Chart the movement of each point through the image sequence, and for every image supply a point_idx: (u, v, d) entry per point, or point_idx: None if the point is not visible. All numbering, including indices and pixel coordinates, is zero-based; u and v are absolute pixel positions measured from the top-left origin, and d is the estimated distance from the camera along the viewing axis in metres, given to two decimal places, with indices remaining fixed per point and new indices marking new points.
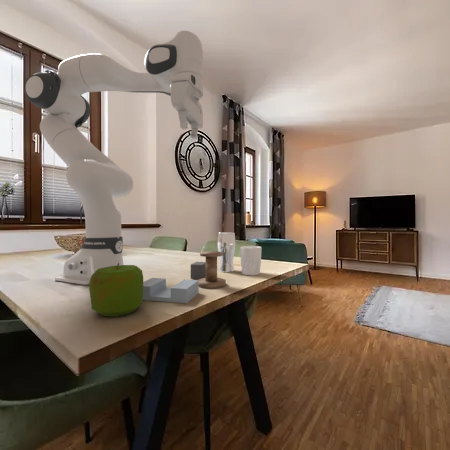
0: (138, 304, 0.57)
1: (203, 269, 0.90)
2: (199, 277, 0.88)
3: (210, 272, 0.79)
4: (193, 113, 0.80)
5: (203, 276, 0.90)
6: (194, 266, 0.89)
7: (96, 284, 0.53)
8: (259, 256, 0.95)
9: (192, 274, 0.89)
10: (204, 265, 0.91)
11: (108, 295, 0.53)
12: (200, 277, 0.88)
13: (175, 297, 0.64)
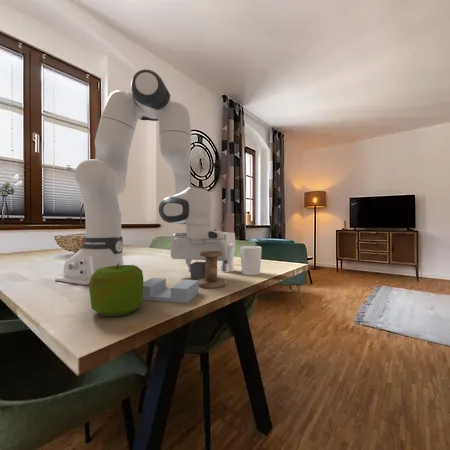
0: (138, 304, 0.57)
1: (203, 269, 0.90)
2: (199, 277, 0.88)
3: (210, 272, 0.79)
4: None
5: (203, 276, 0.90)
6: (194, 266, 0.89)
7: (96, 284, 0.53)
8: (259, 256, 0.95)
9: (192, 274, 0.89)
10: (204, 265, 0.91)
11: (108, 295, 0.53)
12: (200, 277, 0.88)
13: (175, 297, 0.64)
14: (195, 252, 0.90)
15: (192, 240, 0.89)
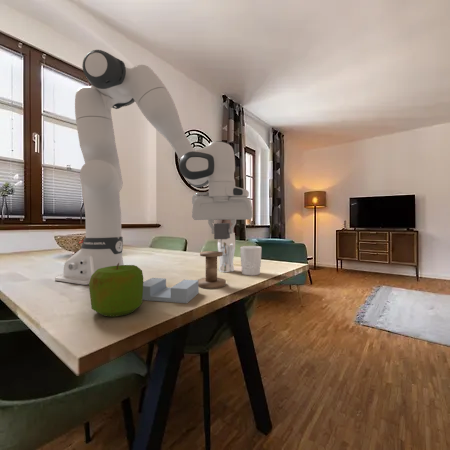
0: (138, 304, 0.57)
1: (227, 229, 0.85)
2: (223, 237, 0.84)
3: (210, 272, 0.79)
4: None
5: (227, 236, 0.86)
6: (218, 225, 0.84)
7: (96, 284, 0.53)
8: (259, 256, 0.95)
9: (216, 234, 0.84)
10: (228, 225, 0.87)
11: (108, 295, 0.53)
12: (224, 237, 0.84)
13: (175, 297, 0.64)
14: (218, 212, 0.85)
15: (215, 198, 0.84)
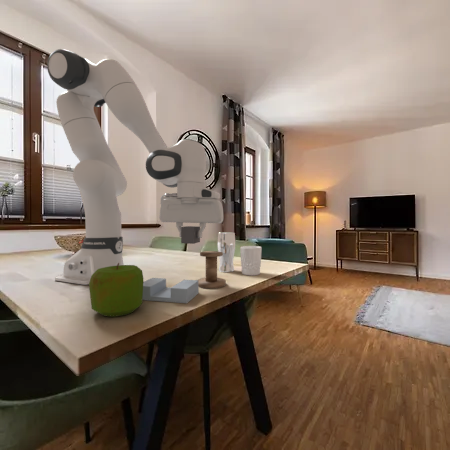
0: (138, 304, 0.57)
1: (195, 233, 0.80)
2: (191, 241, 0.79)
3: (210, 272, 0.79)
4: None
5: (195, 240, 0.80)
6: (185, 228, 0.79)
7: (96, 284, 0.53)
8: (259, 256, 0.95)
9: (183, 237, 0.79)
10: (197, 229, 0.81)
11: (108, 295, 0.53)
12: (192, 241, 0.79)
13: (175, 297, 0.64)
14: (186, 214, 0.80)
15: (183, 200, 0.79)
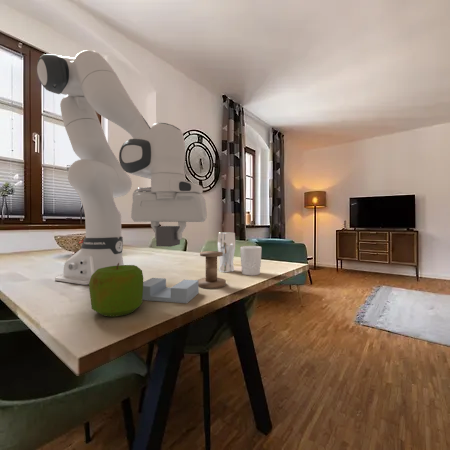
0: (138, 304, 0.57)
1: (173, 233, 0.68)
2: (167, 243, 0.66)
3: (210, 272, 0.79)
4: None
5: (173, 243, 0.68)
6: (161, 229, 0.66)
7: (96, 284, 0.53)
8: (259, 256, 0.95)
9: (158, 239, 0.67)
10: (175, 229, 0.69)
11: (108, 295, 0.53)
12: (169, 243, 0.66)
13: (175, 297, 0.64)
14: (162, 212, 0.67)
15: (158, 195, 0.67)
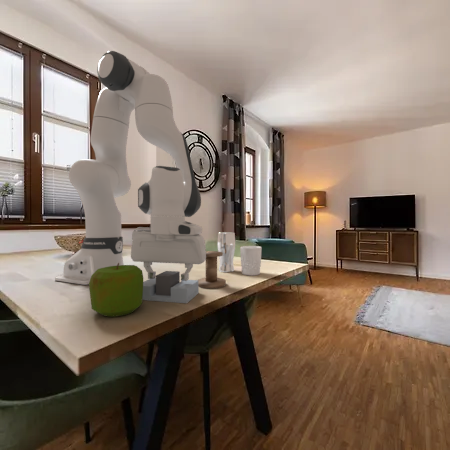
0: (138, 304, 0.57)
1: (173, 281, 0.68)
2: (167, 292, 0.66)
3: (210, 272, 0.79)
4: None
5: None
6: (160, 278, 0.67)
7: (96, 284, 0.53)
8: (259, 256, 0.95)
9: (158, 288, 0.67)
10: (175, 276, 0.69)
11: (108, 295, 0.53)
12: (168, 292, 0.66)
13: (175, 297, 0.64)
14: (162, 253, 0.68)
15: (158, 237, 0.67)
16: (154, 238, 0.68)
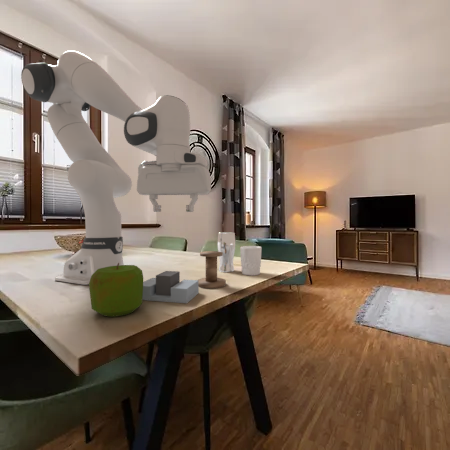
0: (138, 304, 0.57)
1: (173, 281, 0.68)
2: (167, 292, 0.66)
3: (210, 272, 0.79)
4: None
5: None
6: (160, 278, 0.67)
7: (96, 284, 0.53)
8: (259, 256, 0.95)
9: (158, 288, 0.67)
10: (175, 276, 0.69)
11: (108, 295, 0.53)
12: (168, 292, 0.66)
13: (175, 297, 0.64)
14: (167, 184, 0.68)
15: (163, 167, 0.67)
16: (160, 169, 0.69)
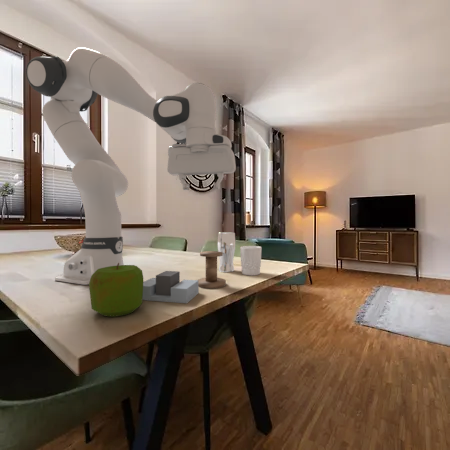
0: (138, 304, 0.57)
1: (173, 281, 0.68)
2: (167, 292, 0.66)
3: (210, 272, 0.79)
4: None
5: None
6: (160, 278, 0.67)
7: (96, 284, 0.53)
8: (259, 256, 0.95)
9: (158, 288, 0.67)
10: (175, 276, 0.69)
11: (108, 295, 0.53)
12: (168, 292, 0.66)
13: (175, 297, 0.64)
14: (196, 164, 0.75)
15: (193, 148, 0.74)
16: (189, 151, 0.76)
